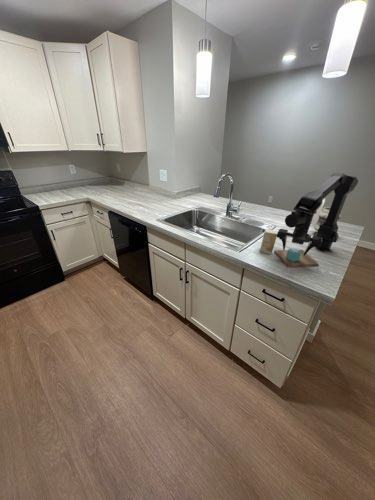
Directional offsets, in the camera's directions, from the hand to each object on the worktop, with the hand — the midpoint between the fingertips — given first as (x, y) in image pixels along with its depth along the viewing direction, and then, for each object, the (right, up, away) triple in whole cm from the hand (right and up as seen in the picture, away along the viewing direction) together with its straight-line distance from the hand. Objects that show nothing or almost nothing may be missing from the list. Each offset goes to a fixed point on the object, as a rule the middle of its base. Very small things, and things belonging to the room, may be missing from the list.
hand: (293, 252), depth 99 cm
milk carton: (+40, +21, +50) cm, 67 cm away
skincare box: (-10, 0, +11) cm, 14 cm away
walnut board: (+3, -3, +4) cm, 6 cm away
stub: (0, -3, +2) cm, 4 cm away
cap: (0, -3, +2) cm, 3 cm away
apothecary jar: (+34, +10, +30) cm, 47 cm away
